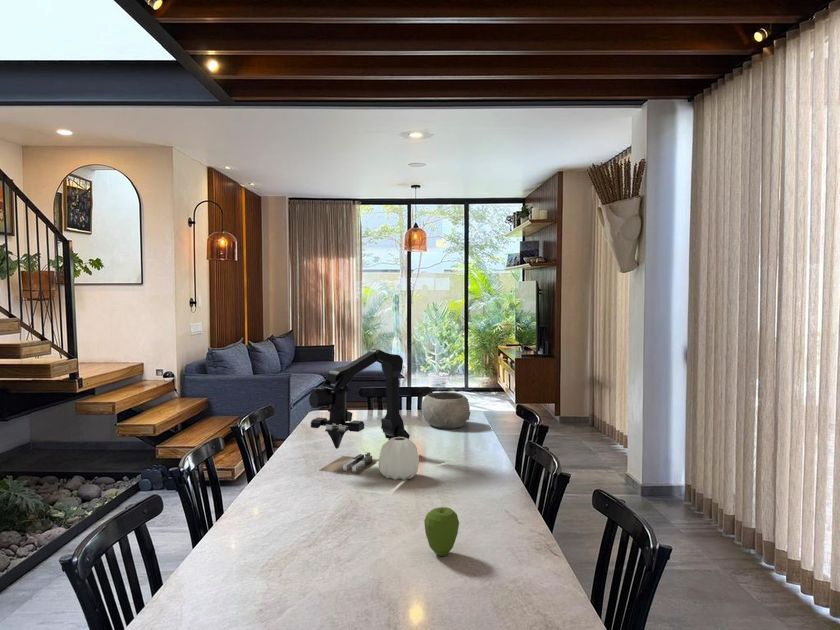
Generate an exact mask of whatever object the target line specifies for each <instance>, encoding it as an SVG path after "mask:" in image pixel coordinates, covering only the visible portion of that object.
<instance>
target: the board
mask: <svg viewBox="0 0 840 630" xmlns="http://www.w3.org/2000/svg"><path fill="white" fill-rule="evenodd" d="M354 457H355V456H347V455H342V456H340V457H339V458H337V459H335V460H334V461H332V462H330V463H329V464H327V465H325V466H323V467H322V468H320V469H319V470H318V471H319V472H327V473H328V472H329V473H338V474H346V475H353V476H354V475H355V476H356V475H357V476H359V475H360V474H361V473H363V472H364V471H365V470H367V469H369V468H370V467H371V466H373V465H375V464H376V463H377V462H379V458H378V459H375V458H372V462H371V463H370V464H368V465H367V466H365V467H363V468H362V469H360V470H359V471H358V472H356V473H354V472H352V468H351V469H349V470H348V471H343V465H344V464H346V463H347V462H349V461H351V460H352V459H353V458H354Z"/></svg>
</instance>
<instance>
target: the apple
mask: <svg viewBox="0 0 840 630" xmlns="http://www.w3.org/2000/svg"><path fill="white" fill-rule="evenodd" d="M423 524H424V532H425V536H426V538H427V539H426V540H427V543H428V545H429V548H430V550H431V551H433V552H434V554H436V556H439V557H444V556H445V557H446V556H447V555H448V554H449V553H450V551H451V550H452V549H453V548H454V545H455V542H456V539H457V537H458V534H459V533H458V532H459V527H460V521H459V517H458V514H457V512H456V511H454V510H453V509H452V508H450V507H447V506H441V507H434V508H433V509H431V510H429V511H428V512H427V514H426V515H425V518H424V520H423Z"/></svg>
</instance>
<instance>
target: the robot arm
mask: <svg viewBox="0 0 840 630" xmlns="http://www.w3.org/2000/svg"><path fill="white" fill-rule="evenodd" d="M403 362H404V359H403V357H402V356H401V355H400V354H396V353H395V354H394V353H390V352H389V353H388V352H385V351H384V350H381V349H377V348H371V349H370V350H369V351H367V352H366V353H364V354H362V355H361V356H360V357H358V358H357V359H355V360H353V361H351V362H350V363H348V364H346V365H343V366H338V367H335V368H333V369H331V370H330V371H328V373H327V377H326V378H325V380H324V381H323V382H322V385H321V386H320V387H318V388H317V387H314V388H312V391H311V393H309V394H310V395H309V397H308V401H309V406H310V407H311V408H312V409H317V408H319V409H320V408H325V407H329V408H327V412H329V419H328V418H327V417H316V418H313V419H311V421H310V428H312V429H319V428H320V427H321V426H323V427H325V430H324V431H325V432H327V433H328V435H329V437H330V439H331V441H332V443H333V445H334V447H335V449H336V450H337V449H339V448H340V445H341V444H342V443H341V442H342V441H343V437H344V435H345V434H346V432H348V431H349V432H355V433H357V432H359V433H360V432H361V431H363V430H364V429H365V422H364V421H363V420H353V414H354V413H353V412H351V411H349V410H348V406H347V393H349V392H352V389H351V388H350V387H349V386H348V385H349V384H350V383H351V381H352V380H353V379H354V377H355V376H356V375H358V374H359V373H360V372H362V371H364V370H366V369H367V368H368V367H371V365H373V364H375V363H378V364H380V366H381V369H382V373H383V374H384V376H385V396H386V397H385V398H386V401H385V402H386V405H385V406H386V414H385V416H384V418H383V417H382V418H380V421H381V426H380V429H381V430H382V433H384V437H385V439H387V441H388V440H390V439H391V438H394V437H404V438H407V439H409V440H410V436H411V435H410V434H409V432H407V430H406V429H405V424H404V420H403V418H402V416H401V413H400V387H399V386H400V383H399V378H400V375H401V373H402V371H403V365H404V363H403Z"/></svg>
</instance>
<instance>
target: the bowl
mask: <svg viewBox="0 0 840 630" xmlns="http://www.w3.org/2000/svg"><path fill="white" fill-rule="evenodd" d="M469 403H470V402H469V399H468V398H467V397H466V395H464V394H463V393H460V392H453V391H449V392H448V391H441V392H430V393H428V394H427V395H425V396H424V398H423V401H422V404H421V415H422V416H423V419H424V420H425V422H426V423H427V424H428V425H430V426H433V427H435V428H438V429H448V430H449V429H450V430H454V429H459V428H461V427H463V426H464V425H465V423H466V422H467V420H468V421H469V420H470V417H471V410H470V404H469Z"/></svg>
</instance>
